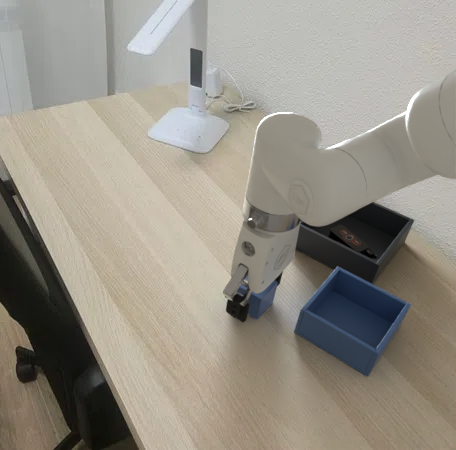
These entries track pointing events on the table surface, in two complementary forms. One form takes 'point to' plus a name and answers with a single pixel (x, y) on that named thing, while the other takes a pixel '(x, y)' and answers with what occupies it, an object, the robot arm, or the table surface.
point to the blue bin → (351, 319)
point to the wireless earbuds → (350, 241)
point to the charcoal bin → (364, 229)
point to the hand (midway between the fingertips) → (253, 297)
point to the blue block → (259, 299)
